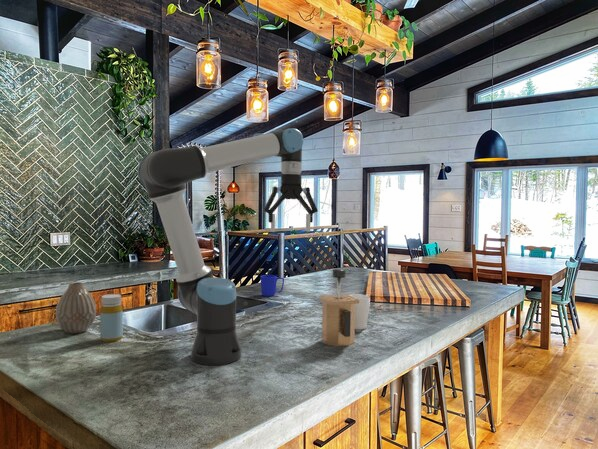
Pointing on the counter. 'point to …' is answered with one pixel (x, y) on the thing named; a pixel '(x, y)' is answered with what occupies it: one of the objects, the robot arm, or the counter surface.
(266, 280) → the mug
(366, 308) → the cup
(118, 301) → the bottle
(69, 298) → the vase
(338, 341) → the block
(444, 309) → the counter surface
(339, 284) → the plunger
